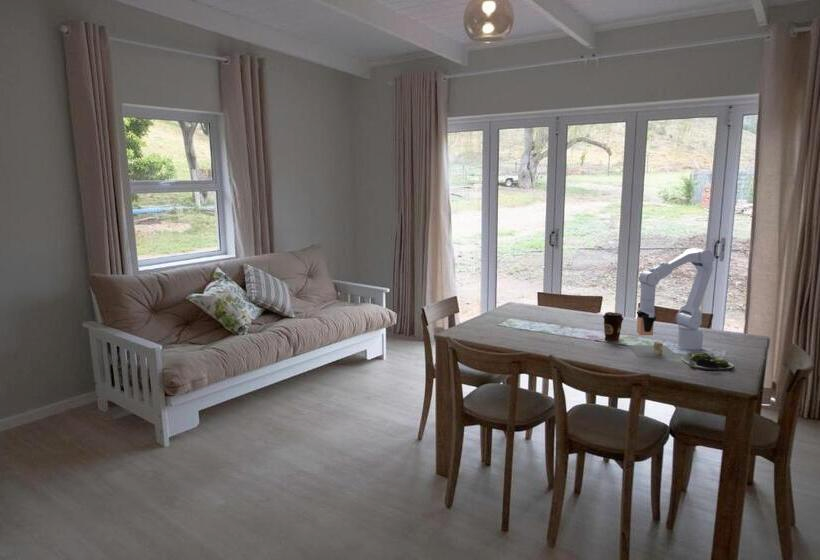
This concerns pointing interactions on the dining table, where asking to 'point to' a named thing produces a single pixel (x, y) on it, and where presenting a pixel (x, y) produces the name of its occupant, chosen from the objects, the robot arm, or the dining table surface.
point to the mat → (651, 351)
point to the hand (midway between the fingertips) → (645, 329)
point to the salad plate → (707, 362)
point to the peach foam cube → (642, 327)
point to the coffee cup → (612, 326)
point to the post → (658, 348)
